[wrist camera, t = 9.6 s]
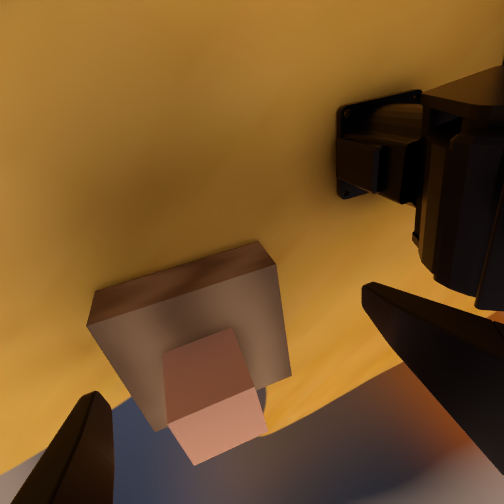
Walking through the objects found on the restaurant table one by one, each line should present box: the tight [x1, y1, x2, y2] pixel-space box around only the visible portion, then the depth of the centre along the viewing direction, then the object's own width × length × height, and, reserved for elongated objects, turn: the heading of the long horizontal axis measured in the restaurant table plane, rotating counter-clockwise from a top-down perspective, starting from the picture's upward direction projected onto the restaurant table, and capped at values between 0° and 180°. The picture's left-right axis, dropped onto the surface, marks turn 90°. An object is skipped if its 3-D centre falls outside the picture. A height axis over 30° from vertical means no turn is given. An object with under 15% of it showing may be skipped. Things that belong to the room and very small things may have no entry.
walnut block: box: [86, 242, 292, 432], centre depth 23 cm, size 12×12×4 cm
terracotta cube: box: [162, 327, 268, 465], centre depth 19 cm, size 5×5×5 cm
